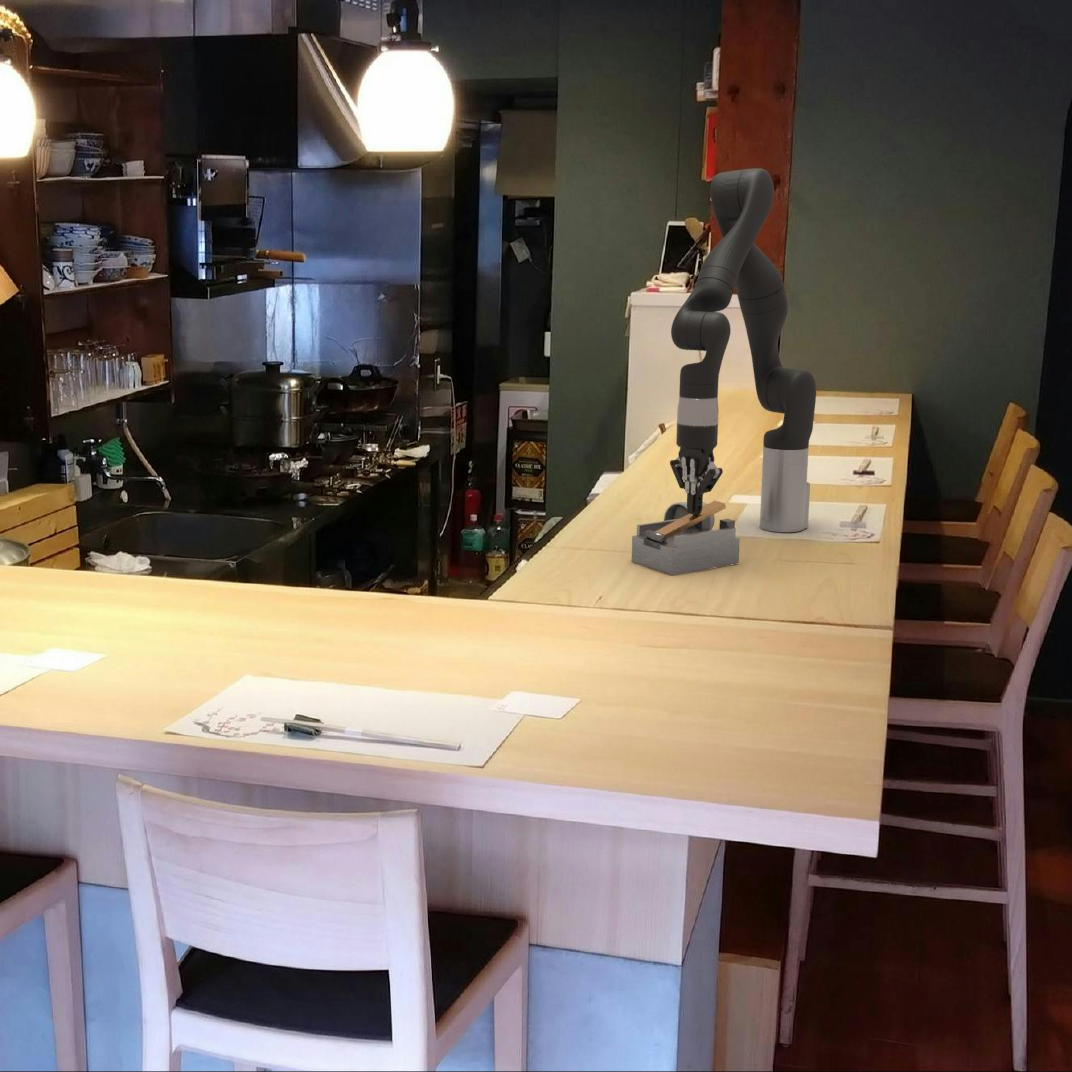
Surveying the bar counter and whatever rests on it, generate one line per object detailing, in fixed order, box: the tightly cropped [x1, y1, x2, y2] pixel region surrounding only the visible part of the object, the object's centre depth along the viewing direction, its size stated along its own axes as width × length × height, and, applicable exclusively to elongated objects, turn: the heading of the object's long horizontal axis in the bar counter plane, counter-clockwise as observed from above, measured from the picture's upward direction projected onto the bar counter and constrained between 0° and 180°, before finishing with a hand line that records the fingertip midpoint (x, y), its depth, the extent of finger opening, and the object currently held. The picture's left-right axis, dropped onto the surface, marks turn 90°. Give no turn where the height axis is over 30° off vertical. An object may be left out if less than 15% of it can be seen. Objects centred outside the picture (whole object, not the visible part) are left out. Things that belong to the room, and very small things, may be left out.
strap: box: [645, 500, 727, 543], centre depth 251 cm, size 17×4×2 cm, turn 123°
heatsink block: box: [631, 517, 741, 576], centre depth 252 cm, size 16×12×8 cm
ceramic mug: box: [663, 501, 715, 530], centre depth 273 cm, size 11×8×8 cm
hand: (694, 513), depth 251 cm, fingers closed
